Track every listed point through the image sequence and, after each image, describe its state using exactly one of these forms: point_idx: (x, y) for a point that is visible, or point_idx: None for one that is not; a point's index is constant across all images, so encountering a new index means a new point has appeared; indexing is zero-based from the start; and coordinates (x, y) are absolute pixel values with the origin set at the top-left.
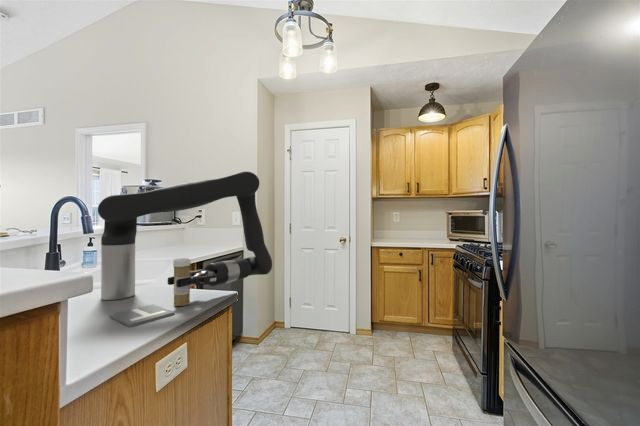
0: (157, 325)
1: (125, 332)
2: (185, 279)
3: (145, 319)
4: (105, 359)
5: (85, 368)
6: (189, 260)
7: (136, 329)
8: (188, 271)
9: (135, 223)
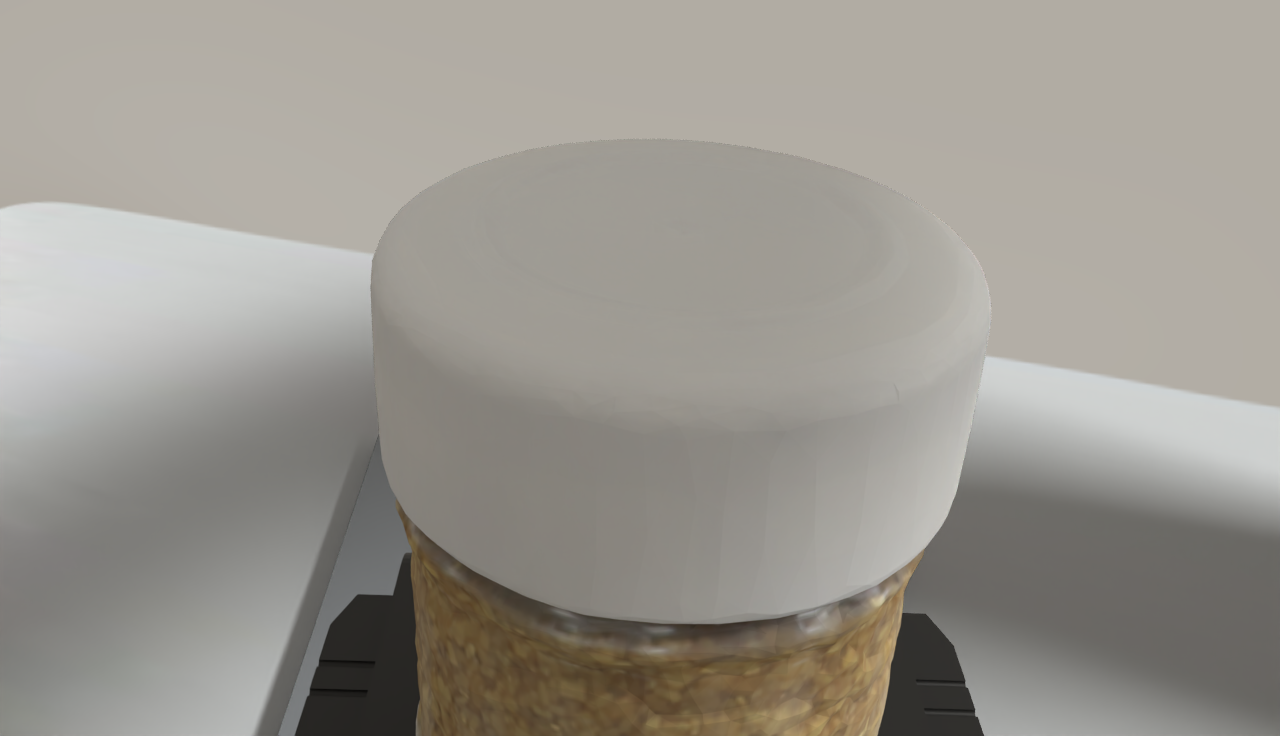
0: (151, 552)
1: (297, 402)
2: (368, 704)
3: (372, 520)
4: (16, 262)
5: (34, 220)
6: (402, 346)
7: (269, 450)
8: (426, 670)
9: None
